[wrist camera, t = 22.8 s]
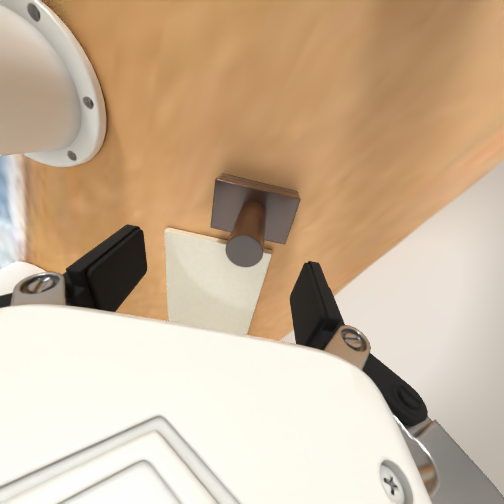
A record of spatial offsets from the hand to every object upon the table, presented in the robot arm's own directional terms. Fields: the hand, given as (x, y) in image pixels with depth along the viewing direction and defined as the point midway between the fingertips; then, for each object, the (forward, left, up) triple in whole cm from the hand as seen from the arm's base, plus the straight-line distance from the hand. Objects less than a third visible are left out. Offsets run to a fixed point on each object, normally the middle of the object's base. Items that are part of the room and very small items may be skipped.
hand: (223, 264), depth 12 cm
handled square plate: (+1, 0, -12) cm, 12 cm away
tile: (-2, -15, -12) cm, 19 cm away
